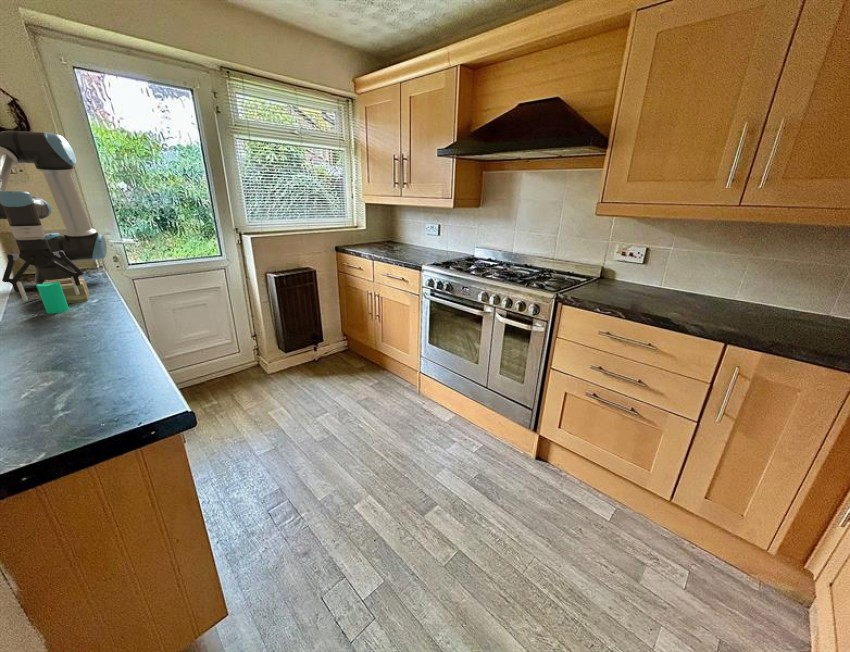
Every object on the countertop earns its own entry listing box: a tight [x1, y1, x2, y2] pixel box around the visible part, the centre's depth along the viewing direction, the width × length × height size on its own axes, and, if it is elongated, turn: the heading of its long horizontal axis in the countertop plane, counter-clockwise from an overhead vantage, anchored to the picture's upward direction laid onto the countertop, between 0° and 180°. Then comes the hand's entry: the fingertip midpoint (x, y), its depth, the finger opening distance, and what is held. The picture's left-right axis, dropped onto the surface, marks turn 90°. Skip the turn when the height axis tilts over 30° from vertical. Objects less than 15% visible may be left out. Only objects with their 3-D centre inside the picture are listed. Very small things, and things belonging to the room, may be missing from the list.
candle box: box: [43, 276, 90, 305], centre depth 144 cm, size 16×12×7 cm
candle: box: [35, 281, 70, 314], centre depth 129 cm, size 6×6×12 cm
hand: (52, 297), depth 129 cm, fingers open, 13 cm apart
